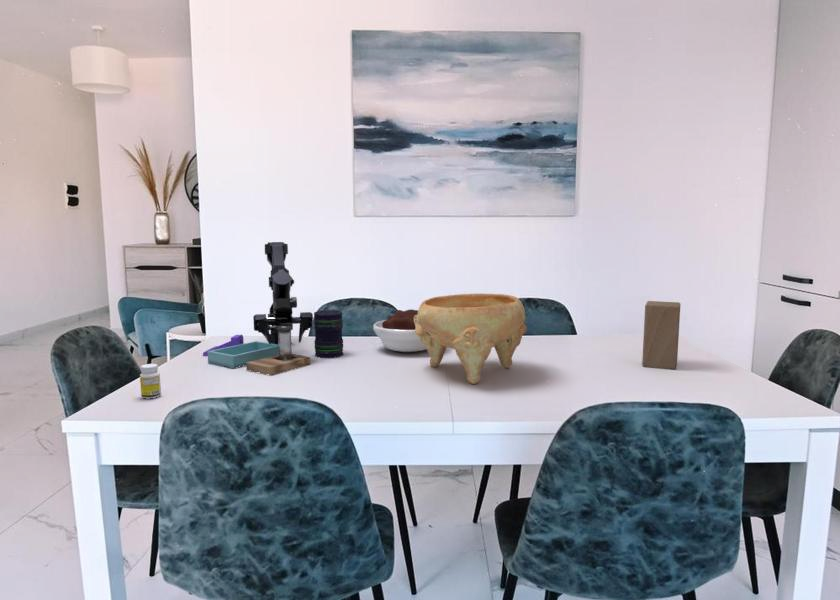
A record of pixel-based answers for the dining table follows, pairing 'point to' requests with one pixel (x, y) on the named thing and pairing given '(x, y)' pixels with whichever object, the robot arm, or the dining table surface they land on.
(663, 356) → the wooden block
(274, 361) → the block
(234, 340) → the bracket
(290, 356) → the pin
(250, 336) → the dining table surface
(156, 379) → the supplement bottle
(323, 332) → the storage jar
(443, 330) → the decorative bowl
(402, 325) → the white bowl of pudding
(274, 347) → the tray
